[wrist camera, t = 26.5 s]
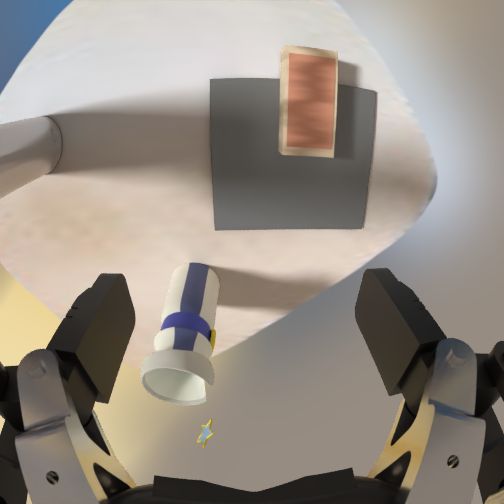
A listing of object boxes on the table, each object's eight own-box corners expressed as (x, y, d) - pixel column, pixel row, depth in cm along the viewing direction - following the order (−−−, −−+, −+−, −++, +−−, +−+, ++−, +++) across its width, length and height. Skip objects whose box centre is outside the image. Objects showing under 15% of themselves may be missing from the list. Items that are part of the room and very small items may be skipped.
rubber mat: (215, 228, 38) (214, 230, 38) (210, 79, 29) (210, 79, 28) (359, 227, 39) (361, 229, 39) (373, 91, 30) (375, 91, 29)
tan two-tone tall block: (282, 155, 30) (285, 44, 23) (278, 150, 33) (280, 51, 27) (333, 158, 30) (338, 51, 24) (324, 153, 33) (328, 56, 27)
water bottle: (228, 266, 41) (224, 425, 19) (216, 309, 45) (207, 455, 23) (174, 253, 40) (123, 405, 18) (167, 298, 44) (130, 439, 22)
